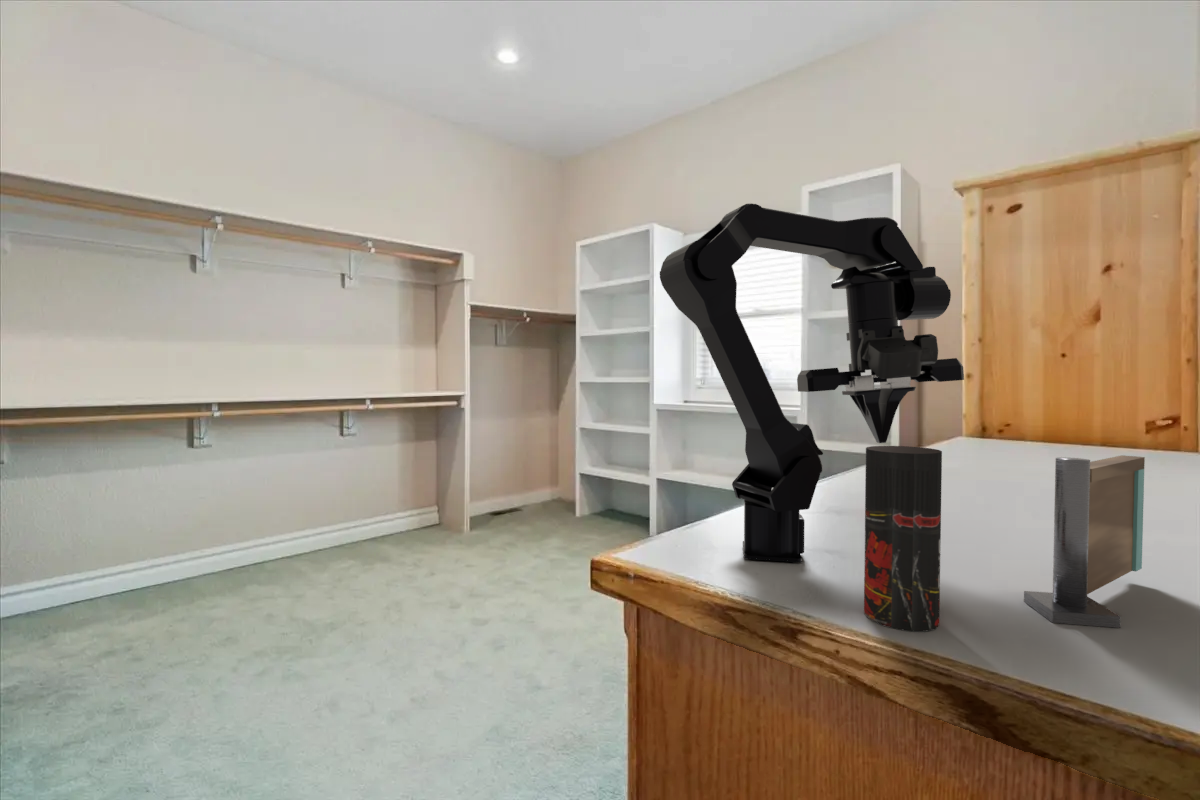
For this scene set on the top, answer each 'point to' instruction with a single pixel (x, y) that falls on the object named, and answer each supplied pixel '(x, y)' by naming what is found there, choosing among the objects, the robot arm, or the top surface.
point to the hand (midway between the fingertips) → (881, 442)
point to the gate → (1115, 519)
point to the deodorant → (903, 537)
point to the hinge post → (1071, 553)
